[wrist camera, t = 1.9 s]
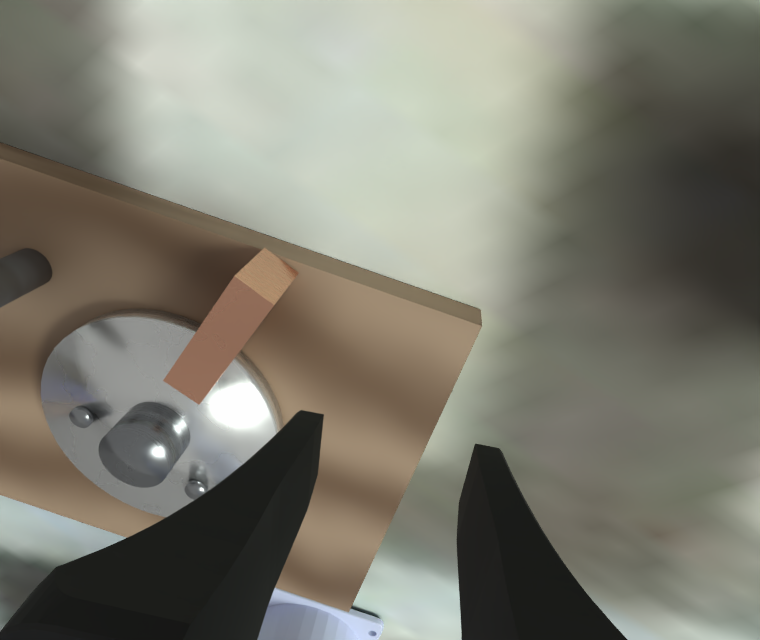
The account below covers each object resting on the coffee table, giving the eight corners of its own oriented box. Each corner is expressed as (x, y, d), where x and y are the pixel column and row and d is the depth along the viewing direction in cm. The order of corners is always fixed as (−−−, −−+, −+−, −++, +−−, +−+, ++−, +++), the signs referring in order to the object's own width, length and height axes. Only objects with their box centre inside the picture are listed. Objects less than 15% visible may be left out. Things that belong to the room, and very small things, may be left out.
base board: (353, 588, 30) (335, 678, 26) (-28, 459, 30) (-113, 528, 25) (480, 309, 21) (485, 374, 17) (-56, 123, 21) (-193, 139, 17)
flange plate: (213, 537, 27) (186, 588, 25) (25, 420, 26) (-26, 461, 23) (394, 344, 21) (384, 385, 18) (158, 167, 19) (109, 184, 16)
